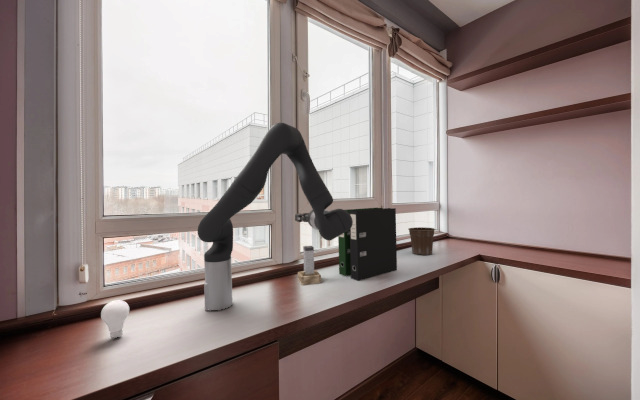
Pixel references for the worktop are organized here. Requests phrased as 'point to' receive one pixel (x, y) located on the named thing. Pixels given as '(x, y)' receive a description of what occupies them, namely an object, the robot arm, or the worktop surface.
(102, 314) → the light bulb
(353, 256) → the lever arch files
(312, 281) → the holder
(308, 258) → the grey rectangular block
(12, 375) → the worktop surface
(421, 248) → the plant pot
